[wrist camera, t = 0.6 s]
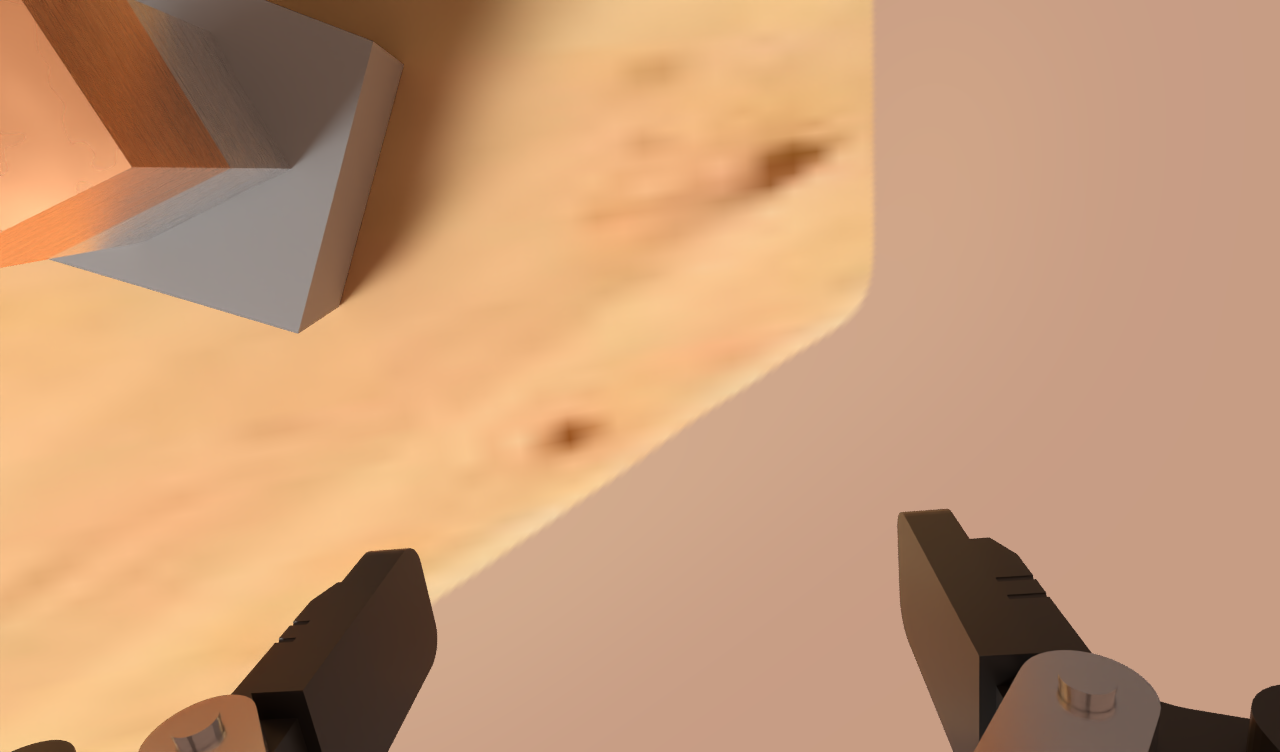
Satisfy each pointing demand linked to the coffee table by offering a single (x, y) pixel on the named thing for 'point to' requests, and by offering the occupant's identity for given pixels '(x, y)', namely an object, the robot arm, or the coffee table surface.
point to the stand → (291, 202)
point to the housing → (116, 127)
